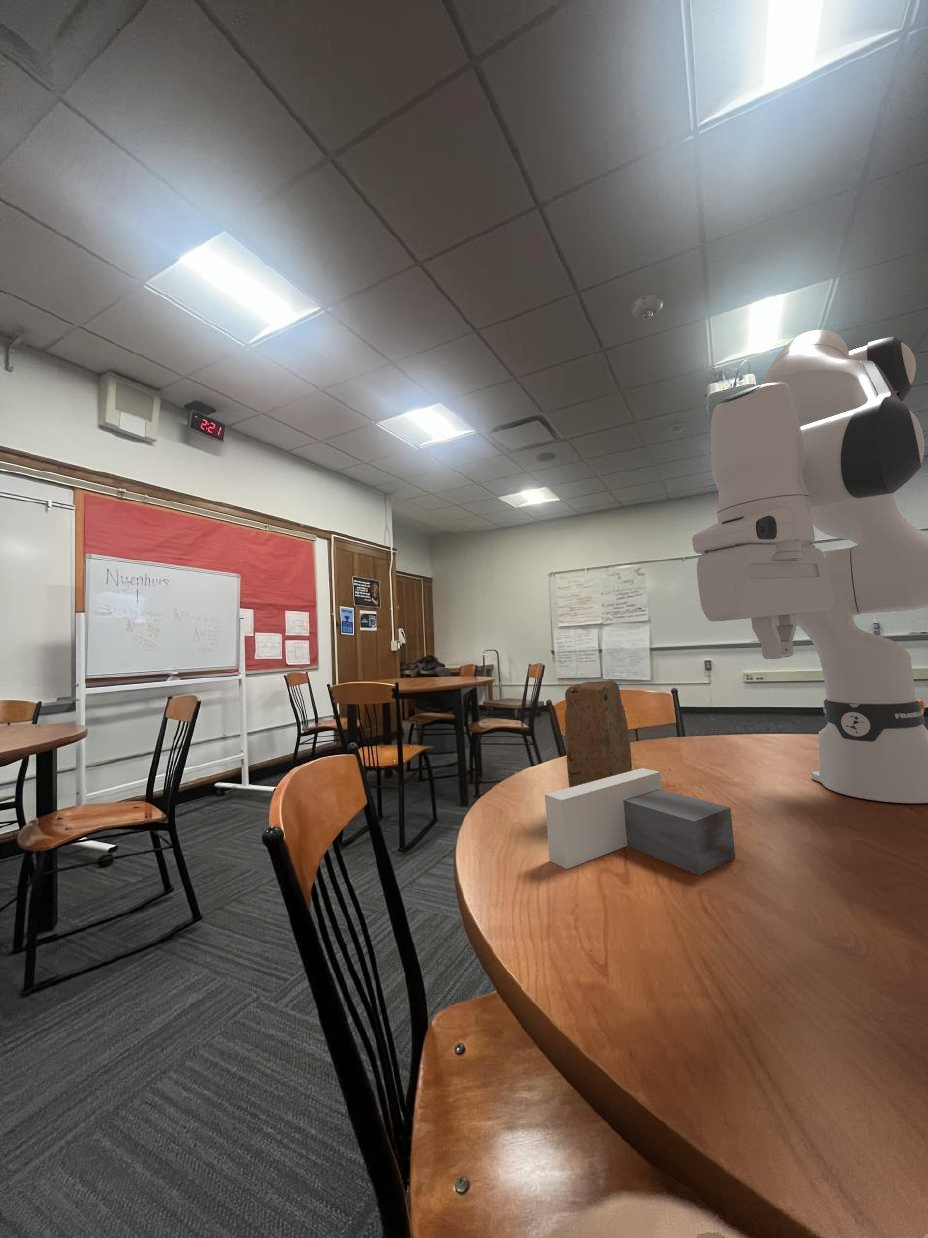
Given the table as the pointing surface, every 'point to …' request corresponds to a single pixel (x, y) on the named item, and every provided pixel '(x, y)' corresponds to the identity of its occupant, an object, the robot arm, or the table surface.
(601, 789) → the cream board
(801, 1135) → the table surface
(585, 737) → the block
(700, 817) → the charcoal block
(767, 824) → the table surface
